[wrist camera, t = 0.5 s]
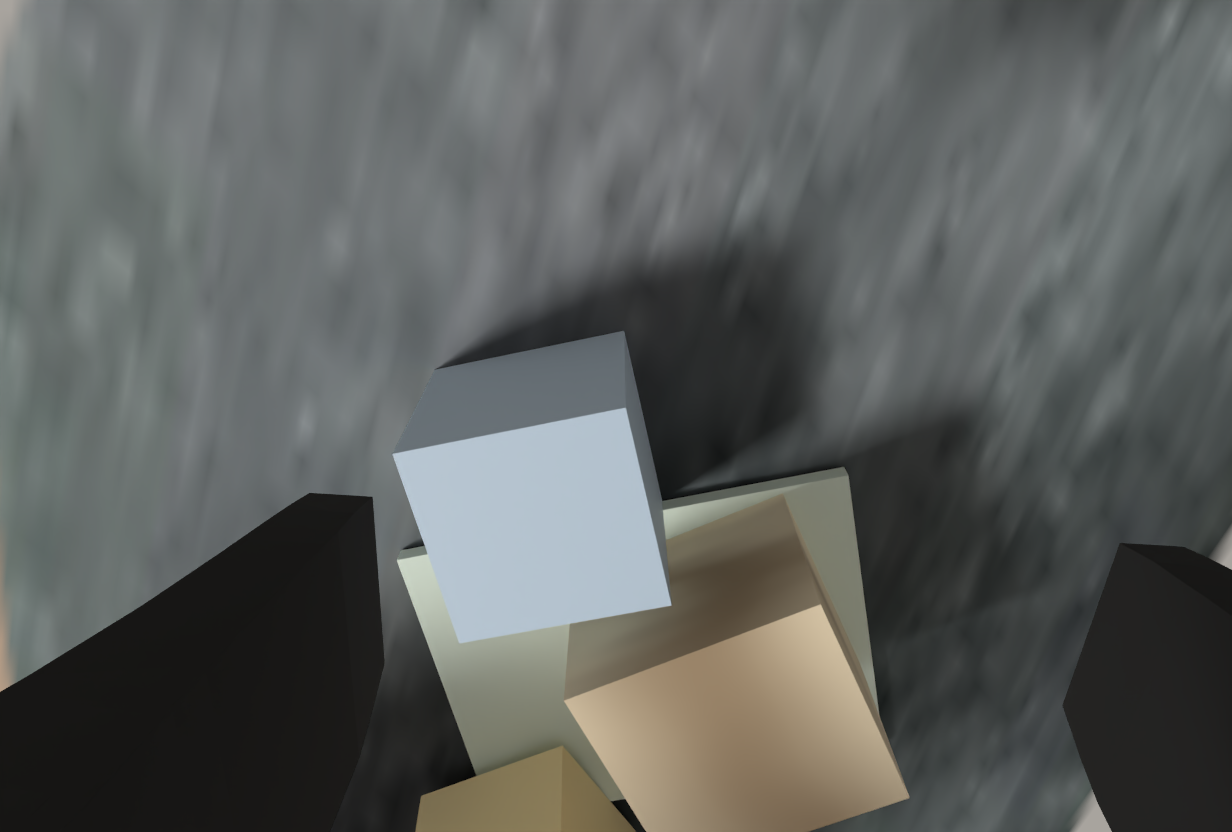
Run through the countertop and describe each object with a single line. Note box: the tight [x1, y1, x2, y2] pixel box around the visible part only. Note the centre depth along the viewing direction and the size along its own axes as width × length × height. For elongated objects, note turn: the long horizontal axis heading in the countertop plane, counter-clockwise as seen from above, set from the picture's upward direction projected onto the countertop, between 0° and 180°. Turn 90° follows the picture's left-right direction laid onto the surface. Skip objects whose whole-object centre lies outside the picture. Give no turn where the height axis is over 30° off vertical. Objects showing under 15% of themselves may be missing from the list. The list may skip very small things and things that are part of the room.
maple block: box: [564, 494, 910, 832], centre depth 19 cm, size 5×5×4 cm
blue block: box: [393, 331, 672, 643], centre depth 18 cm, size 4×4×4 cm
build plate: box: [397, 467, 879, 801], centre depth 22 cm, size 10×8×1 cm
